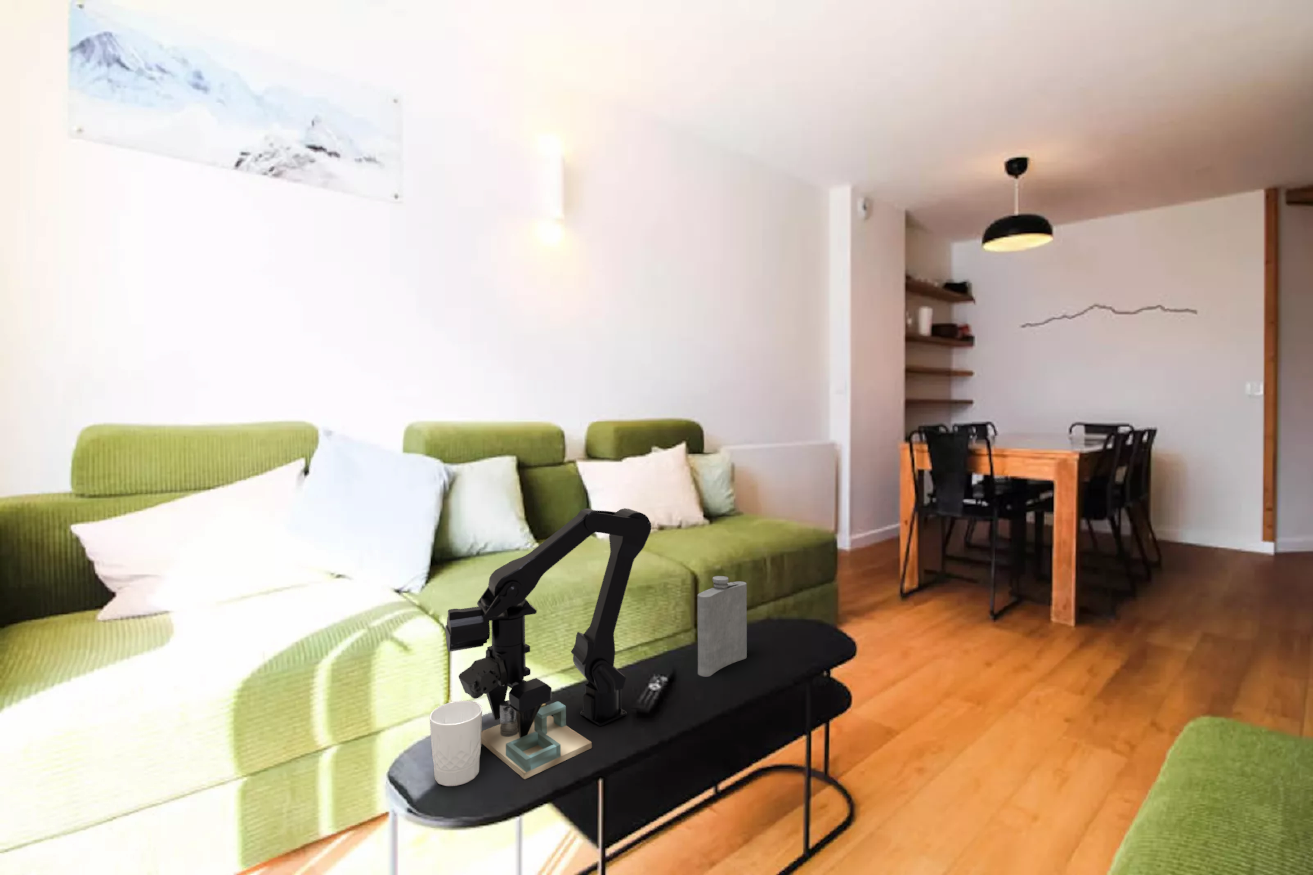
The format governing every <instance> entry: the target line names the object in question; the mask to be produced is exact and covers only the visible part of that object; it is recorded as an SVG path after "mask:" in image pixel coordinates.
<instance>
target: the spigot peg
mask: <svg viewBox="0 0 1313 875" xmlns="http://www.w3.org/2000/svg"><path fill="white" fill-rule="evenodd" d="M510 704H511V703H510V700H509V699H508V700H505V701H504V702H502V703H501V704H500V719H499V724H500V734H501V735H502V736H504V737H511V736H514V735H516V734H518V725H517V717H516V711H515V710H513V709H512V708H511V707H509V706H508V705H510Z"/></svg>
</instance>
